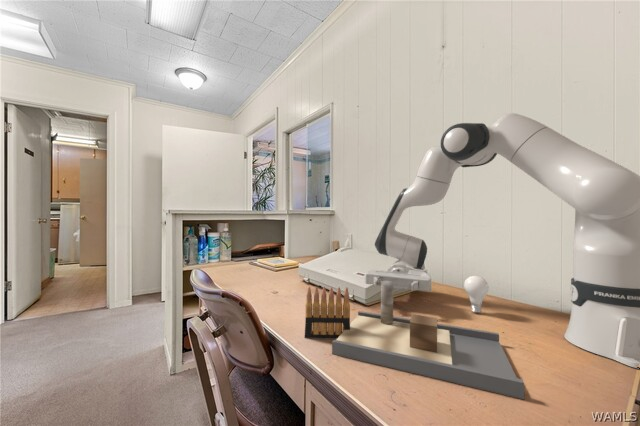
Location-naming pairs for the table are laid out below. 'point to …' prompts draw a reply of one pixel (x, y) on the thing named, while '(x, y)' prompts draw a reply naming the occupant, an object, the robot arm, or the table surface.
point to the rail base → (467, 360)
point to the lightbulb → (476, 291)
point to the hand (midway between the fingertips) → (393, 285)
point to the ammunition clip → (321, 315)
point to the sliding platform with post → (393, 332)
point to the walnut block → (423, 333)
